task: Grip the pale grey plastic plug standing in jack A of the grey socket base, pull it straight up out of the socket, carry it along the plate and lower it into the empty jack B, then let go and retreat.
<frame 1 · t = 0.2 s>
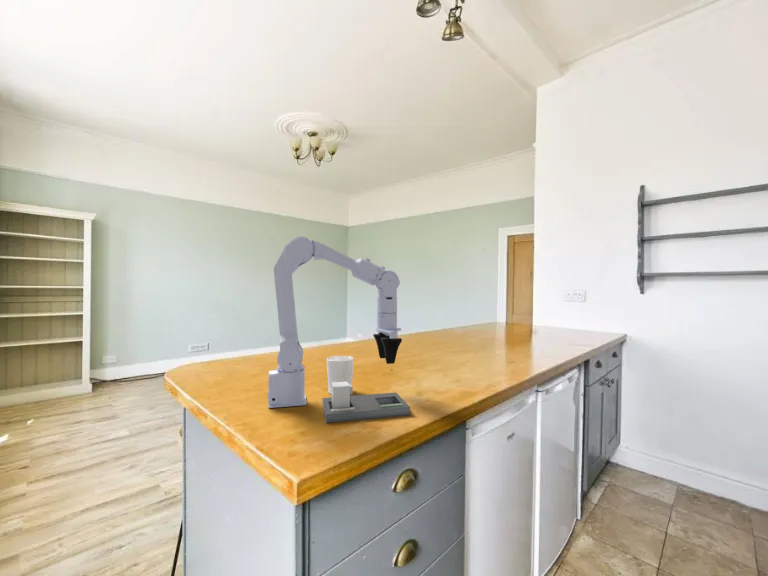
hand: (386, 360, 99), 10 cm above the table, fingers open, 7 cm apart
white cup: (340, 392, 103), on the table
grey socket base: (364, 410, 87), on the table
plug: (340, 412, 86), resting in grey socket base
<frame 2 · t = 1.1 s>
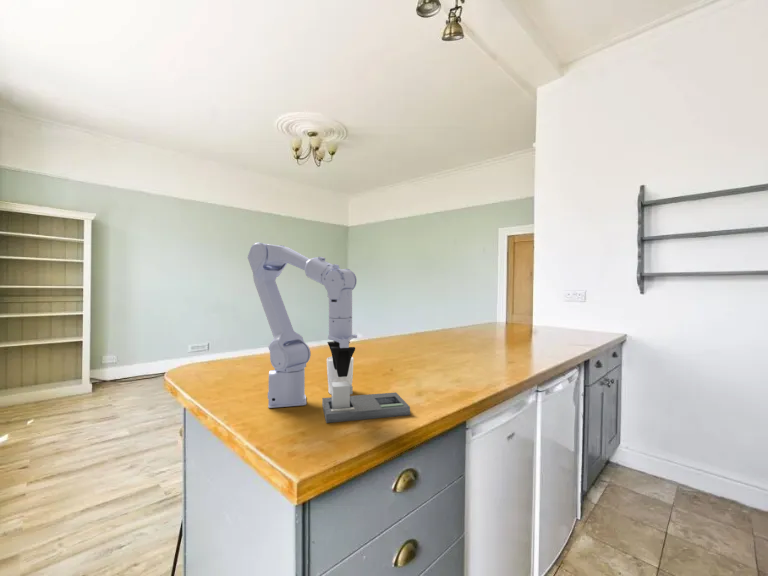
hand: (340, 372, 86), 10 cm above the table, fingers open, 7 cm apart
nothing on the table moved.
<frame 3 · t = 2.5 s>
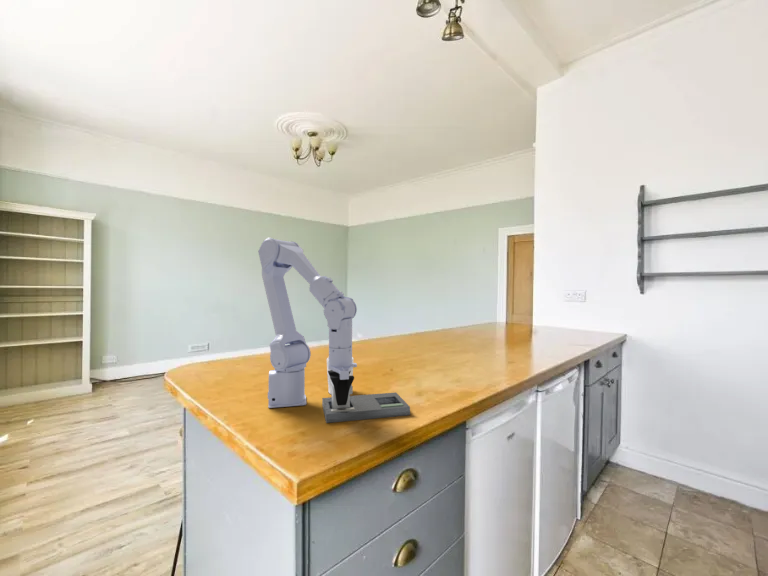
hand: (340, 401, 86), 3 cm above the table, fingers closed on plug, 4 cm apart
plug: (340, 412, 86), resting in grey socket base, touching gripper
everything else where it was.
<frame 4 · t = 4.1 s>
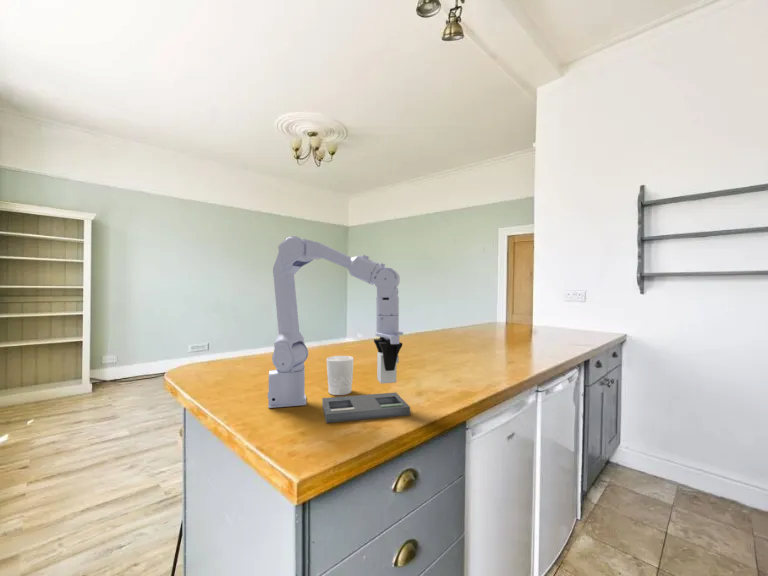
hand: (387, 368, 89), 10 cm above the table, fingers closed on plug, 4 cm apart
plug: (386, 380, 89), point 7 cm above the table, touching gripper
everything else where it was.
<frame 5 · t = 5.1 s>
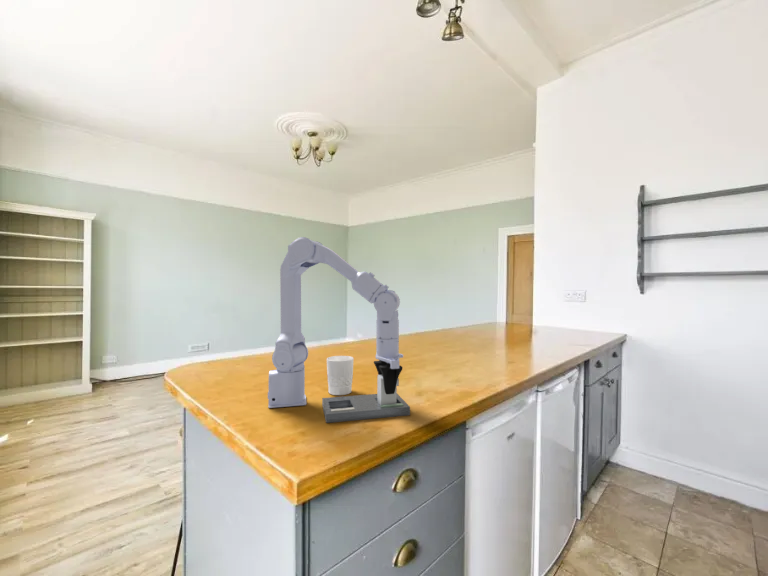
hand: (387, 391, 89), 4 cm above the table, fingers closed on plug, 4 cm apart
plug: (386, 403, 89), point 1 cm above the table, touching gripper
everything else where it was.
when the fingers open (4 cm above the table, at t = 5.7 s): plug stays where it is, resting in grey socket base.
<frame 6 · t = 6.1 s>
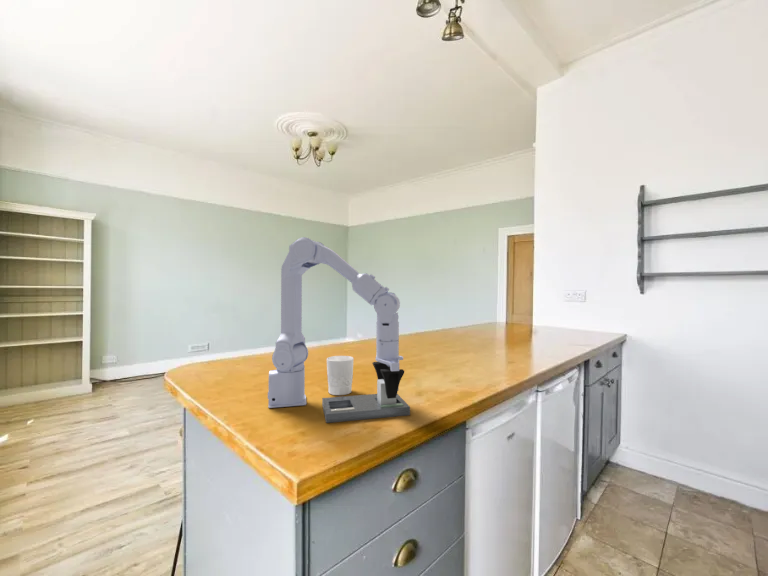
hand: (387, 393, 89), 4 cm above the table, fingers open, 7 cm apart
plug: (386, 408, 89), resting in grey socket base
everything else where it was.
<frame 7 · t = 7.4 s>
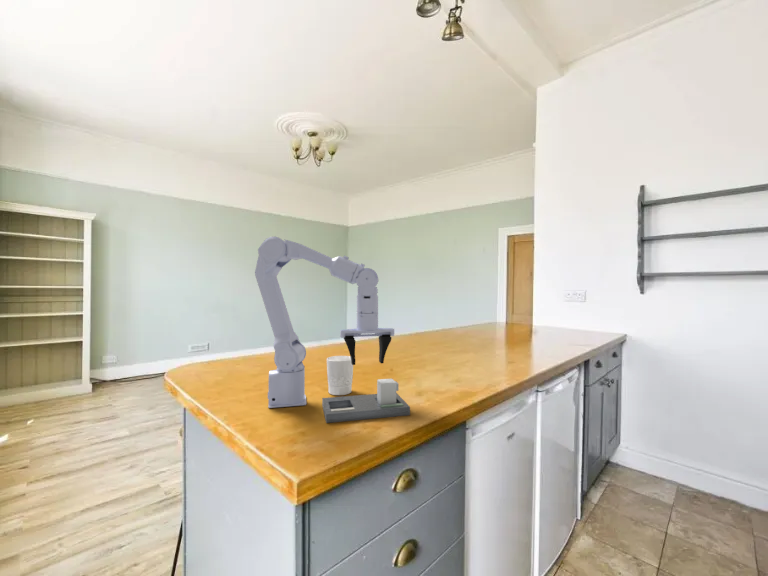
hand: (367, 363, 94), 10 cm above the table, fingers open, 7 cm apart
nothing on the table moved.
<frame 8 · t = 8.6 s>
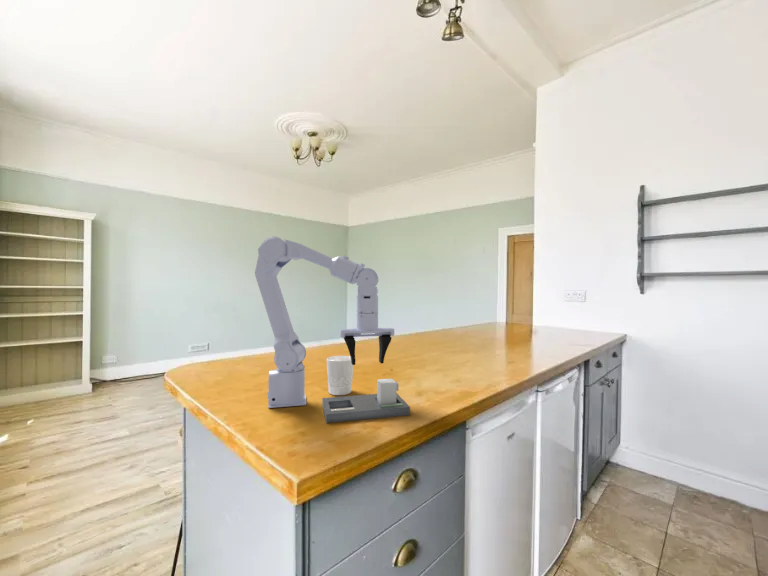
hand: (367, 363, 94), 10 cm above the table, fingers open, 7 cm apart
nothing on the table moved.
at the end: plug 0.2 cm from the target spot on the grey socket base, point 0.0 cm above the grey socket base's base; plug tilted 0°; the gripper is holding nothing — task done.
